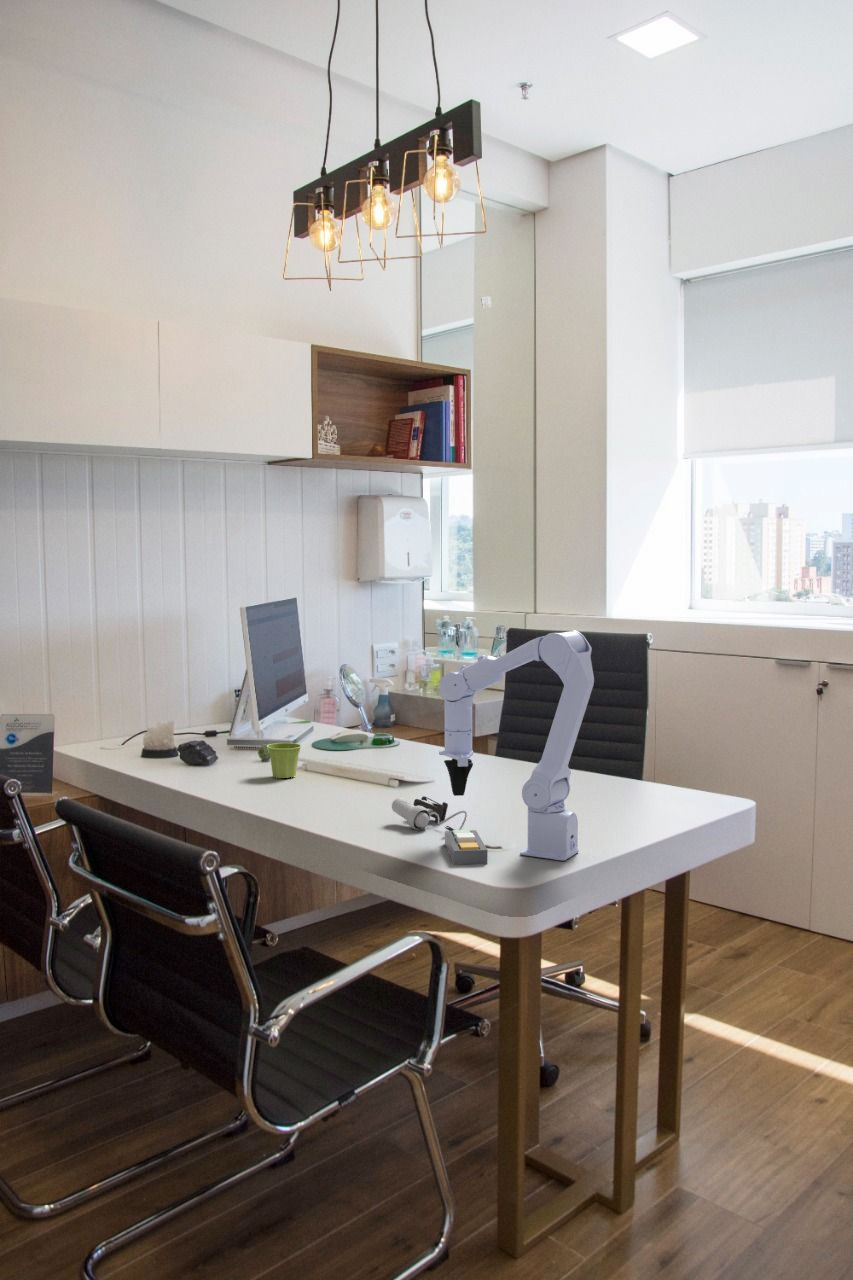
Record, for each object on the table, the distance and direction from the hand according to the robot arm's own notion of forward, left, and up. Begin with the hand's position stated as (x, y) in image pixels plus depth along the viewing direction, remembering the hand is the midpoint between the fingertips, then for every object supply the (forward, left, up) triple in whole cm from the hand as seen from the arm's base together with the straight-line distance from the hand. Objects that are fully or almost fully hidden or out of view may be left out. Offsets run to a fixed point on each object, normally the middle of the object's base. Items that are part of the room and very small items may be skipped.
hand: (458, 794), depth 218 cm
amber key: (-9, +13, -8) cm, 17 cm away
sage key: (-3, +4, -8) cm, 10 cm away
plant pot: (+72, -36, -10) cm, 81 cm away
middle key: (-6, +8, -8) cm, 13 cm away
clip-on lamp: (+10, -7, -10) cm, 16 cm away
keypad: (-6, +9, -9) cm, 14 cm away
